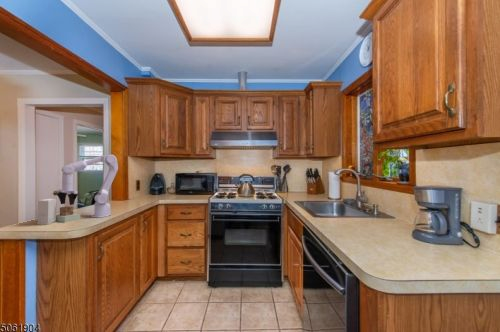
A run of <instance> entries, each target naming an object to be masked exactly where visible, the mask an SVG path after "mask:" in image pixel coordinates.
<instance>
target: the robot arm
mask: <svg viewBox="0 0 500 332" xmlns="http://www.w3.org/2000/svg"><path fill="white" fill-rule="evenodd" d="M98 163H105V164H106V165H107V166H108V167H109V170H108V172H107V174H106V177H105V178H104V181H103V183H102V185H101V187H100V189H99V191H98V192H97V193H96V194H95V195H94V201H95V202H94V215H91V216H90V217H91V218H100V219H101V218H106V217H108V216H112V214H111V204H110V203H109V202H107V201H108V195H109V190H110V188H111V186H112V183H113V181H114V179H115V177H116V175H117V173H118V170H119V165H118V159H117V157H116V155H114V154H106V155H101V156H100V155H99V156H97V157H93V158H91V159H87V160H85V161H84V160H83V159H82V160H77V161H76V162H69V164H65V165H63V166H62V168H61V172H62V175H61V189H57V193H56V196H57V197H58V200H59V202H60V205H65V204H66V198H67V197H68V200H69V201H68V202H69V205H70V206H73V205H74V204H75V202H76V199H77V197H78V195H79V193H78V190H75V189H74V176H73V174H74V172H75V173H76V172H78V171H82V170H84V169H87V166H91V165H93V164H98Z"/></svg>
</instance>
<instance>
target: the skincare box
mask: <svg viewBox="0 0 500 332" xmlns="http://www.w3.org/2000/svg"><path fill="white" fill-rule="evenodd" d="M57 202H58V201H57V198H43V199H40V200H37V226H39V225H41V226H45V225H46V226H49V225H51V224H53V223H56V215H57Z"/></svg>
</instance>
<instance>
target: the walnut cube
mask: <svg viewBox="0 0 500 332" xmlns="http://www.w3.org/2000/svg"><path fill="white" fill-rule="evenodd" d="M73 213H74V206H71V205H70V206H69V205H68V206H67V205H66V206H62V207H61V206H60V207H59V215H62V216H67V215H72V214H73Z"/></svg>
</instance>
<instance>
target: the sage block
mask: <svg viewBox="0 0 500 332" xmlns="http://www.w3.org/2000/svg"><path fill="white" fill-rule="evenodd" d="M79 220H81V213H75V212H73V214H72V215H67V216H62V215H60V214H56V222H57V223H70V222H75V221H79ZM56 222H55V223H56Z"/></svg>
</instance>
